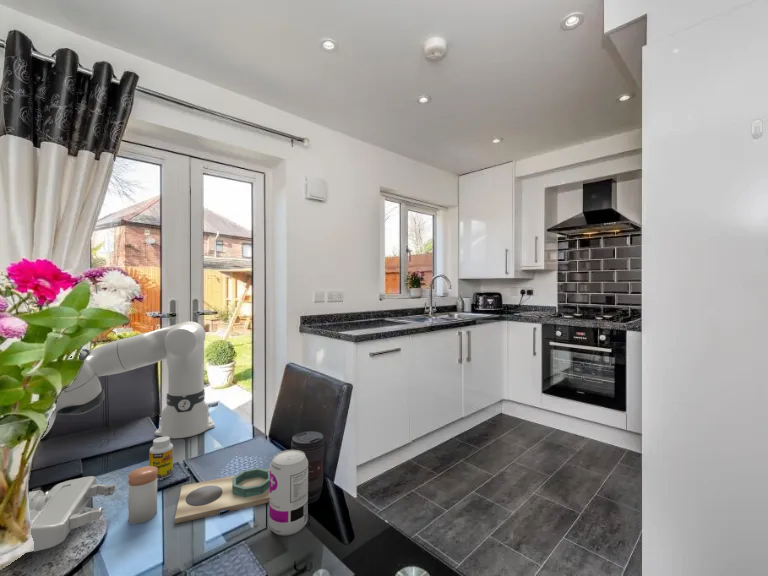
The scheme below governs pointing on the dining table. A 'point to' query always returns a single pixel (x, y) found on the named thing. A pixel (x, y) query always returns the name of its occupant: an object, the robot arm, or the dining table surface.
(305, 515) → the supplement can
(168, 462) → the supplement bottle
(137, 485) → the lidded canister
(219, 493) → the seat board
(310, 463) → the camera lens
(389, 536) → the dining table surface
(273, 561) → the dining table surface
